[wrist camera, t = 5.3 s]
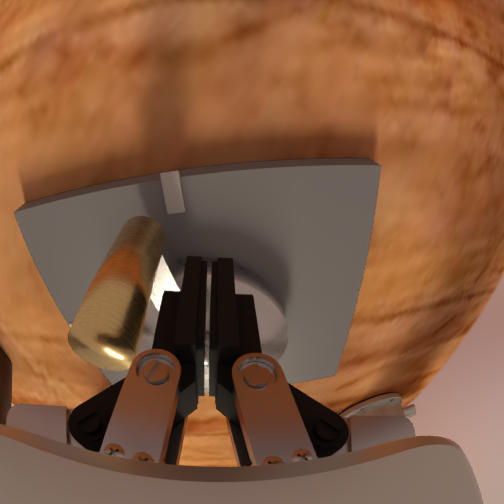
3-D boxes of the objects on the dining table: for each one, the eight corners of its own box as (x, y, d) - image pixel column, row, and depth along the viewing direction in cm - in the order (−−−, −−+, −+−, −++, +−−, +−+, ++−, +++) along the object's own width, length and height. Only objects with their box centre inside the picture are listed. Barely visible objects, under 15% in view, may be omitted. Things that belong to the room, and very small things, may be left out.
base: (369, 152, 16) (382, 159, 14) (331, 364, 28) (335, 376, 27) (23, 198, 15) (10, 208, 13) (119, 381, 27) (117, 392, 26)
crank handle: (292, 353, 23) (314, 448, 16) (164, 376, 24) (158, 464, 16) (250, 170, 14) (286, 282, 7) (64, 230, 15) (-10, 337, 7)
